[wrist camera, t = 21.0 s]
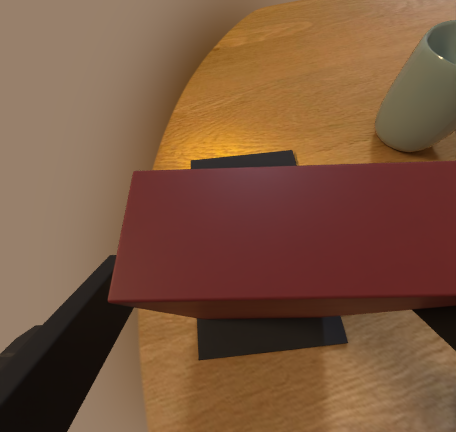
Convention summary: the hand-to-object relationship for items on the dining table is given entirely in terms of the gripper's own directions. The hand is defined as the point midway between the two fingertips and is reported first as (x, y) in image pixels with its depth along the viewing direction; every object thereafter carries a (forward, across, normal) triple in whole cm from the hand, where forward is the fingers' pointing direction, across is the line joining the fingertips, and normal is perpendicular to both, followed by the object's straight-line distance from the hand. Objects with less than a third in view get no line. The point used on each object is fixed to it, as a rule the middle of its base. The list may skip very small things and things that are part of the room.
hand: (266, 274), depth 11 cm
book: (+7, +1, -7) cm, 10 cm away
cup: (+20, +19, +5) cm, 28 cm away
